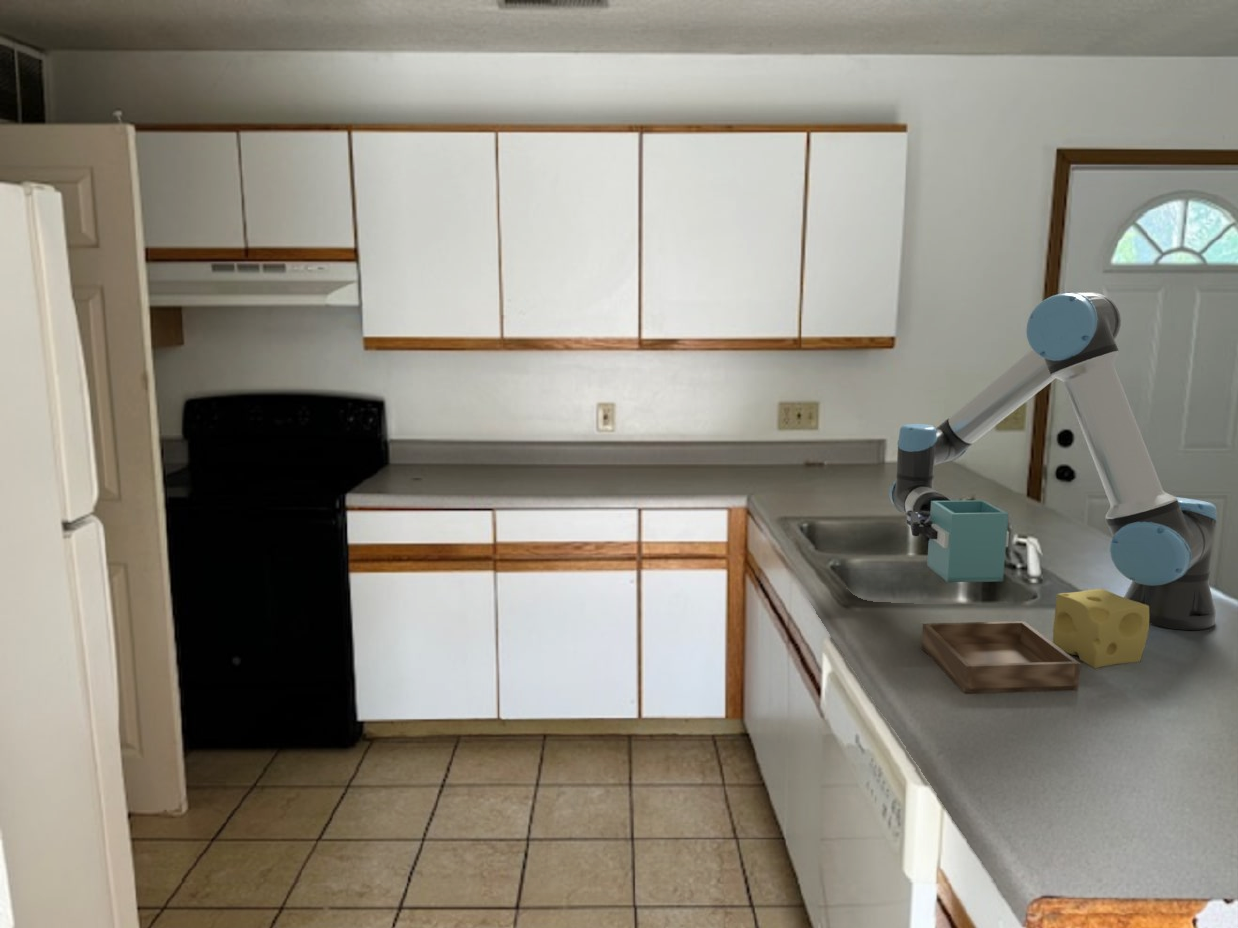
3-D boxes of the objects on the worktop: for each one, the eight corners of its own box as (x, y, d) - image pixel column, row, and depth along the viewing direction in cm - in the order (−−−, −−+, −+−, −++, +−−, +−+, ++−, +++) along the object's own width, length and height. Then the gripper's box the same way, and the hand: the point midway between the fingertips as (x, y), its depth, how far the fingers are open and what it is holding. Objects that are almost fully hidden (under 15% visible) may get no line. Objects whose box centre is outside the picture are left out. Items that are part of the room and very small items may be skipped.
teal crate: (979, 564, 170) (984, 500, 167) (1003, 581, 160) (1008, 513, 158) (927, 565, 170) (931, 500, 167) (947, 582, 160) (952, 514, 157)
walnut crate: (1021, 645, 158) (1023, 621, 157) (1077, 690, 140) (1080, 663, 139) (921, 647, 157) (922, 623, 156) (964, 693, 140) (966, 666, 139)
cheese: (1094, 669, 148) (1100, 612, 146) (1047, 645, 158) (1052, 591, 156) (1145, 662, 151) (1152, 605, 149) (1096, 638, 161) (1102, 585, 159)
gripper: (984, 526, 182) (1037, 559, 160) (874, 528, 181) (912, 561, 160) (987, 490, 181) (1041, 518, 159) (875, 492, 180) (914, 520, 158)
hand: (976, 540), depth 159 cm, fingers closed on teal crate, 10 cm apart
